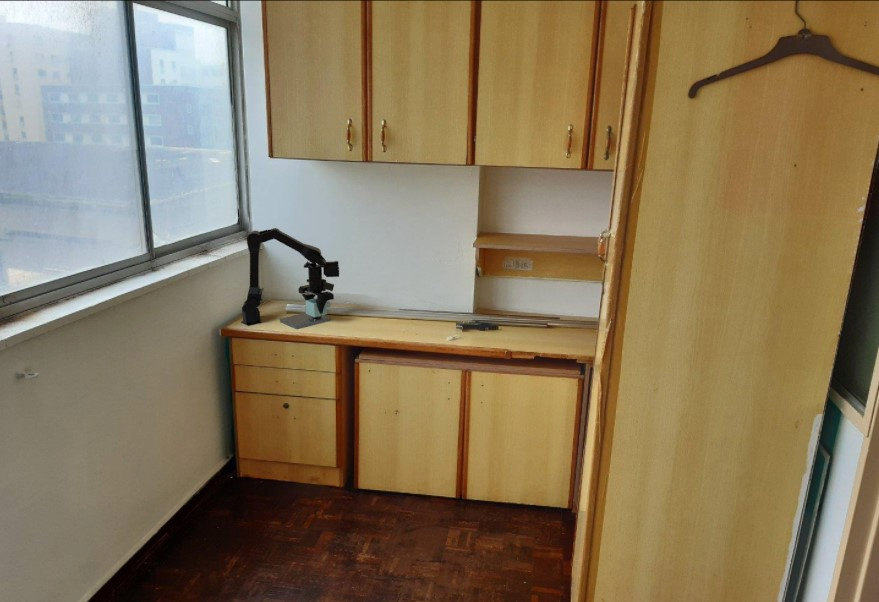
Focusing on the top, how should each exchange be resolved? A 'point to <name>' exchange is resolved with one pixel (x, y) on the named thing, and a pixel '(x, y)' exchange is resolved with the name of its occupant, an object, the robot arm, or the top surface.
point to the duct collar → (315, 308)
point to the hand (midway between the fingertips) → (316, 311)
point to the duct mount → (303, 320)
